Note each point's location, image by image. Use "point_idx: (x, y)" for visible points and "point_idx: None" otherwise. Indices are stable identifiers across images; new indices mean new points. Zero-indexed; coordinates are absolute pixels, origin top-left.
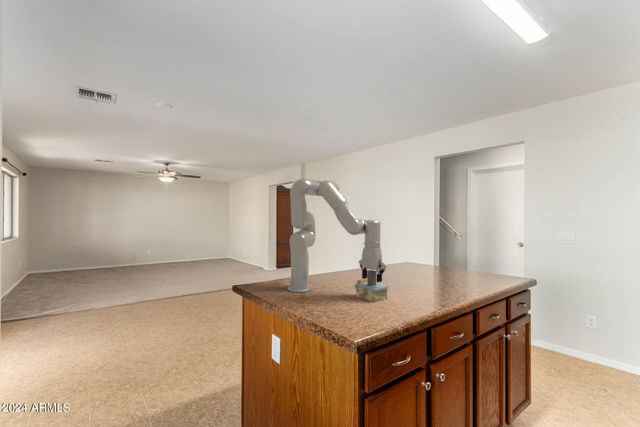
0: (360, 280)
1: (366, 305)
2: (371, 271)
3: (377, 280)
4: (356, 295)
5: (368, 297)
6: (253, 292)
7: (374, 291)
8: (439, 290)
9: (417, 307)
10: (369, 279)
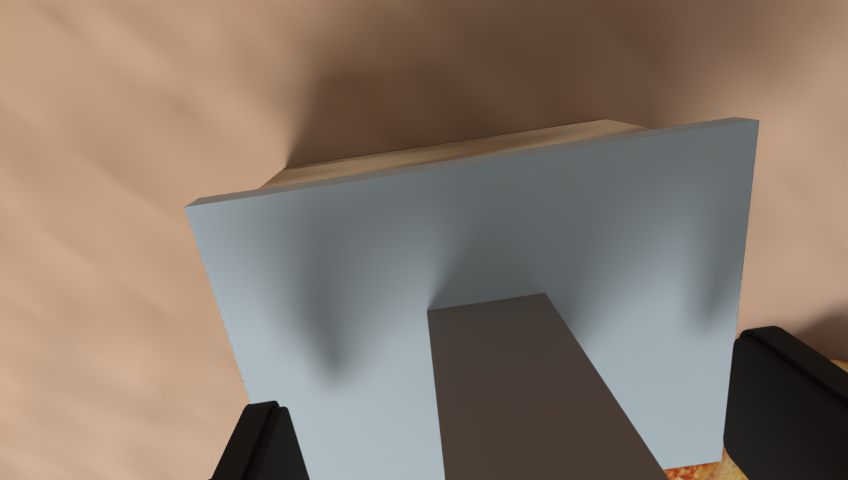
0: None
1: (251, 15)
2: None
3: (236, 431)
4: (619, 122)
5: (384, 161)
6: None
7: None
8: None
9: (17, 467)
10: (521, 374)
